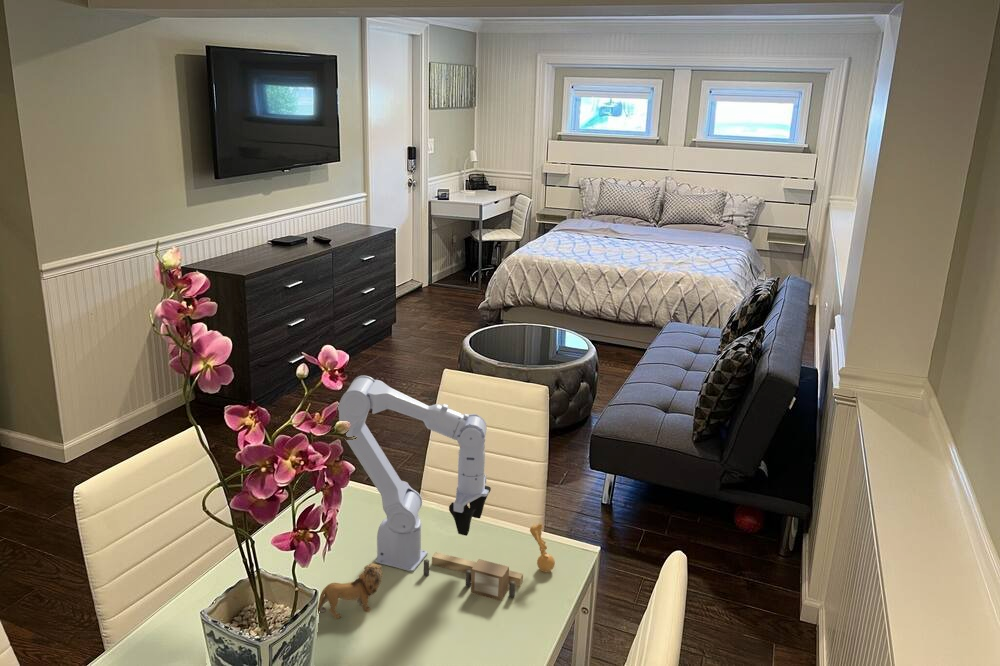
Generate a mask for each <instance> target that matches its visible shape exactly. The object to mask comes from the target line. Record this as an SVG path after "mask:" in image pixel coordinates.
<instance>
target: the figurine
mask: <svg viewBox="0 0 1000 666" xmlns="http://www.w3.org/2000/svg"><path fill="white" fill-rule="evenodd" d="M543 528H544V525H543V524H542V523H538V524H536V525H535V524H533V525H532V526H531V527H530V528H529V531H530V534H531V536H532V537H533V538H534V540H535V541H536V542H537V545H538V546H539V551H540V555H539V556H538V558H537V560H536V564H537V565H536V566H537V567H538V568H537V569H539V570H540V571H541V572H544V573H548V572H551V571H552V570H554V568H555V564H556V563H555V562H556V561H555V558H554V557H553V555H551V554H549V553H548V552H546V550H547V548H548V546H547V545H546V541H544V539H543V538H542V535H543V534H542V529H543Z"/></svg>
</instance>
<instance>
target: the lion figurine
mask: <svg viewBox="0 0 1000 666" xmlns="http://www.w3.org/2000/svg"><path fill="white" fill-rule="evenodd" d="M382 579H383V571H382V565H379V563H377V564H376V563H369V565H366V566H364V570H363V571H362V573H360V574H359V575H358V578H357V579H355V580H354V581H351V582H345V583H344V582H343V583H339V582H332V583H329V584H327V585H326V586H325V587H324V588H323V590H322V591H321V593H320V596H319V599H318V605H317V609H318V615H319V614H320V613H323V612H325V611H326V609H327V608H326V607H324V605H325V604H326V603H327V602H328V603H329V606H330V608H329V612H330V613H331V615H332V616H333V617H334V618H335V619H338V620H339V619H340V618H341V616H342V615H341V613H337V612H336V607H337V606H338V603H339V599H342V600H344V601H353V600H357V604H358V605H359V606H362V609H363V611H364V612H365V613H369V612H370V611H371V608H370V607H369V606H368V604H369V598H370V597H371V596H372V595H374V594H375V593H377V590H379V589H378V588H379V586H380V584H381V582H382ZM318 615H317V617H318Z"/></svg>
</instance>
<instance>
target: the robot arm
mask: <svg viewBox="0 0 1000 666" xmlns="http://www.w3.org/2000/svg"><path fill="white" fill-rule="evenodd" d="M338 405H339V406H338ZM338 405H337V407H338V409H337V410H338V422H339V421H349V422H350V424H351V427H350V429H349V431H348V432H347V433H346V436H347V437H353V436H357V438H356V439H353V440H346V439H345V441H346V443H347V444H348V446H349V447H350V449H351V450H352V452H353V454H354V455H355V456H356V459H357V460H358V461H359V463H360V464H361V466H362V467H363V469H364V471H365V472H366V474H367V475H368V477H369V478H370V480H371V482H372V483H373V485H374V486H375V487H376V490H377V491H378V492H379V494H380V496H381V503H382V510H383V512H384V513H385V515H386V518H384V519H383V520H382V521H381V522H380V524H379V527H378V530H377V535H376V548H377V549H376V550H377V551H376V559H375V563H377V564H382V565H385V566H389V567H392V568H397V569H400V570H404V571H407V572H414V571H415V570H416V569H417V568H418V566H419V565H420V564H421V563H422V561H424V560H425V558H426V556H427V555H428V551H427V550H423V549H421V548H422V520H421V519H420V517H419V512H420V509H421V508H422V505H423V497H422V496H421V494H420V493H419V492H418V491H416V490H415V489H414V488H412V487H411V486H410V485H409V482H407V481H404V480H401V478H400V476H399V475H398V473H397V471H396V470H395V468H394V467H393V465H392V464H391V463H390V461H389V459H388V458H387V456H386V453H384V451H383V449H382V447H381V446H380V445H379V443H378V441H377V440H376V438H375V437H374V435H373V434H372V432H371V431H370V429H369V427H368V425H367V424H366V421H367V418H368V414H369V412H370V410H372V411H371V412H372V413H371V414H372V415H375V414H377V413H380V412H383V411H385V410H390V411H393V412H397V413H399V414H403V415H405V416H408V417H410V418H414V419H417V420H420V421H422V422H423V424H424V425H425V427H426V428H427V429H428V430H430V431H432V432H434V433H438V434H440V435H442V436H445V437H447V438H449V439H452V440H455V441H457V443H458V445H459V449H458V458H457V459H458V461H457V462H458V465H457V468H458V470H457V487H456V493H455V501H454V502H451V503H450V504H449V506H448V511H449V513H450V514H451V515H452V517H453V519H454V523H455V528H456V529H457V530H456V531H457V534H458V535H462V536H468V535H469V532H470V529H471V528H470V527H471V523H472V522H471V521H472V518H475V519H481V518H482V514H483V511H484V510H483V509H484V506H485V503H486V500H487V498H488V495H489V494H490V492H491V491H492V490H491V489H492V487H490V486H487V485H486V483H487V474H485V466H486V465H485V463H486V461H485V460H486V458H485V457H486V451H485V448H486V443H485V442H486V435H487V429H488V428H487V423H486V421H485V419H484V418H483V417H481V416H480V415H478V414H477V413H470V414H468V413H464V414H463V413H462V412H458V411H456V410H454V409H452V408H449V407H450V405H448V404H446V403H442V404H440V403H435V404H432V405H428V404H425V403H424V402H421V401H419V400H417V399H416V398H413V397H411V396H409V395H406V394H405V393H404V392H401V391H399V390H396V389H394V388H393V387H390V386H389V385H388V384H386V383H385V382H383V381H382V380H379V379H374V378H373V377H371V376H368V375H359V376H356V377H355V378H354V379H353V380H352V382H351V384H350V385H349V387H348V388H347V390H346V391H345V392H344V393H343V395H342V396H341V398H340V401H339V403H338ZM468 504H469V506H468Z"/></svg>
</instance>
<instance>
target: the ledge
mask: <svg viewBox="0 0 1000 666" xmlns="http://www.w3.org/2000/svg"><path fill="white" fill-rule="evenodd" d="M476 562H477V561H473V560H469V559H465V558H461V557H457V556H453V555H448V554H445V553H441V552H438V551H435V552H434V553H433V554H432V556H431V565H432V566H437V567H441V568H445V569H448V570H453V571H457V572H459V573H460V572H461V573H464V574H465V587H466V588H471V573H472V568H473V566H474V565H475V564H476ZM429 575H430V560H429V559H427V558H426V559H423V576H424V577H429ZM523 582H524V573H522V572H518V571H515V570H511V569H509V580H508V591H509V592H508V597H509V599H515V597H516V587H519V588H520V587H521V586H522V584H523Z"/></svg>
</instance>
